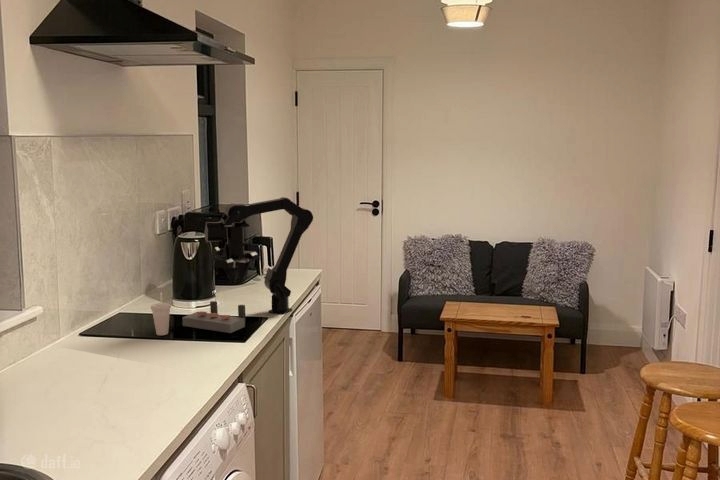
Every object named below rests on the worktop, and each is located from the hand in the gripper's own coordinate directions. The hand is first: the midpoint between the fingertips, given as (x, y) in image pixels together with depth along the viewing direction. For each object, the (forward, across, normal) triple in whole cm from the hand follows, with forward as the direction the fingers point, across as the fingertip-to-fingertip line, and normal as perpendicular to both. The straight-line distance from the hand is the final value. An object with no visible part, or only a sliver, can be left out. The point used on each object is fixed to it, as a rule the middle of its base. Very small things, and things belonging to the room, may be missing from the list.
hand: (237, 283), depth 252 cm
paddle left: (+9, +14, -5) cm, 17 cm away
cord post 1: (+12, +6, -6) cm, 15 cm away
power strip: (+12, +14, 0) cm, 18 cm away
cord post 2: (+12, +6, +6) cm, 15 cm away
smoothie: (+12, +28, -10) cm, 32 cm away
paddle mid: (+9, +14, 0) cm, 17 cm away
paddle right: (+9, +14, +5) cm, 17 cm away
